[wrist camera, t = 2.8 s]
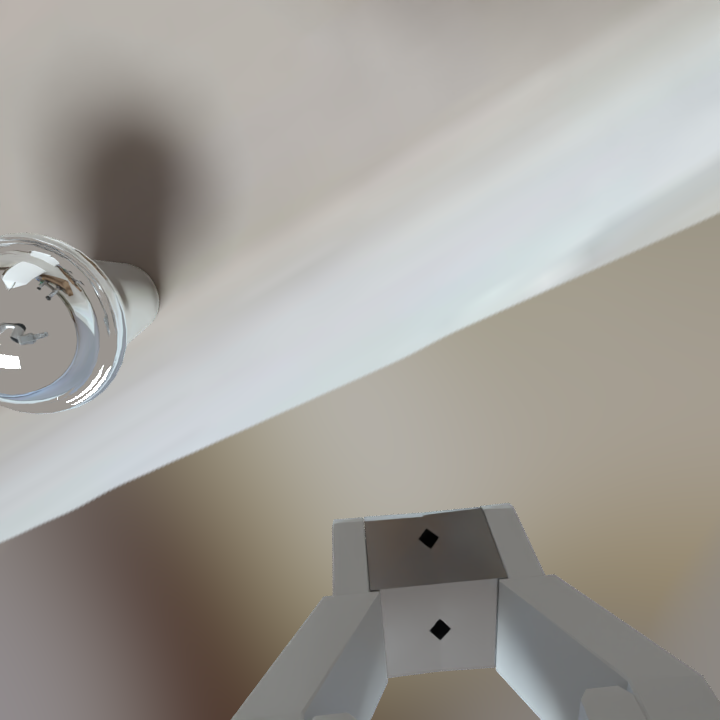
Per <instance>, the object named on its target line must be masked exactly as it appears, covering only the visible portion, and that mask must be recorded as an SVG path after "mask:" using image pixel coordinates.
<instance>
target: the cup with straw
mask: <svg viewBox="0 0 720 720" xmlns="http://www.w3.org/2000/svg"><path fill="white" fill-rule="evenodd" d="M158 309H159V295H158V291H157V288H156V286H155V284H154V282H153V280H152V279H151V278H150V277H149V276H148V274H146V273H145V272H144V271H143V270H142V269H140V268H138V267H136V266H134V265H131V264H127V263H118V262H110V261H100V260H91V259H90V258H89V257H88V256H86V255H85V254H84V253H83V252H82V251H80V250H78V249H77V248H75V247H73V246H71V245H69V244H68V243H66V242H64V241H61V240H58V239H56V238H53V237H50V236H47V235H41V234H34V233H27V232H26V233H10V234H5V235H2V236H0V405H1V406H3V407H6V408H9V409H12V410H15V411H19V412H25V413H32V414H47V413H56V412H61V411H65V410H69V409H73V408H77V407H79V406H81V405H83V404H85V403H88V402H90V401H92V400H93V399H94V398H96V397H97V396H98V395H99V394H101V393H102V392H103V391H104V390H105V389H106V388H107V387H108V386H109V384H110V383H111V382H112V381H113V380H114V378H115V377H116V375H117V373H118V371H119V369H120V367H121V365H122V362H123V358H124V354H125V350H126V346H127V344H129V343H130V342H131V341H132V340H133V339H134V338H135V337H137V336H138V335H139V334H140V333H141V332H142V331H144V330H145V328H147V327H148V326H149V325H150V324H151V323H152V322H153V321H154V319H155V317H156V315H157V313H158Z"/></svg>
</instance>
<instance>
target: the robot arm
mask: <svg viewBox="0 0 720 720" xmlns="http://www.w3.org/2000/svg"><path fill="white" fill-rule="evenodd" d="M364 524H365V529H364ZM332 535H333V536H332V542H333V543H332V544H333V596H325V597H323V598H322V600H321V601H320V602H319V603H318V605H317V606H316V607H315V609H314V610H313V611H312V613H311V614H310V616H309V617H308V618H307V619H306V621H305V622H304V624H303V625H302V626H301V627H300V629H299V630H298V631H297V633H296V634H295V635H294V637H293V638H292V639H291V641H290V642H289V643H288V645H287V646H286V647H285V649H284V650H283V651H282V653H281V654H280V655H279V657H278V658H277V659H276V661H275V662H274V663H273V665H272V666H271V667H270V669H269V670H268V671H267V673H266V674H265V675H264V677H263V678H262V679H261V681H260V682H259V683H258V685H257V686H256V687H255V689H254V690H253V691H252V693H251V694H250V695H249V697H248V698H247V699H246V701H245V702H244V703H243V705H242V706H241V707H240V709H239V710H238V711H237V713H236V714H235V715H234V716H233V718H232V719H231V720H371V717H372V715H373V713H374V711H375V709H376V707H377V704H378V702H379V700H380V698H381V696H382V693H383V691H384V689H385V687H386V684H387V682H388V678H391V677H399V676H406V675H415V674H422V673H430V672H438V671H450V670H464V669H479V668H494V667H496V671H497V672H498V673H499V674H500V675H501V676H502V677H503V678H504V680H505V681H506V682H507V683H508V684H509V685H510V686H511V687H512V688H513V689H514V691H515V692H516V693H517V694H518V695H519V696H520V697H521V698H522V699H523V700H524V701H525V703H526V704H527V705H528V706H529V707H530V708H531V709H532V710H533V711H534V712H535V714H536V715H537V716H538V717H539V718H540V719H541V720H720V701H719V700H718V698H717V697H716V695H715V694H714V692H713V691H712V689H711V688H710V686H709V685H708V683H707V682H706V680H705V678H704V677H703V675H701V674H700V673H698V672H697V671H695V670H694V669H692V668H691V667H689V666H688V665H687V664H685V663H684V662H682V661H681V660H679V659H678V658H676V657H675V656H673V655H672V654H671V653H669V652H668V651H666V650H665V649H663V648H662V647H660V646H659V645H657V644H656V643H654V642H653V641H651V640H650V639H649V638H647V637H646V636H644V635H643V634H641V633H640V632H638V631H637V630H635V629H634V628H632V627H631V626H629V625H628V624H627V623H625V622H624V621H622V620H621V619H619V618H618V617H616V616H615V615H613V614H612V613H610V612H609V611H608V610H606V609H605V608H603V607H602V606H600V605H599V604H597V603H596V602H594V601H593V600H591V599H590V598H588V597H587V596H586V595H584V594H583V593H581V592H580V591H578V590H577V589H575V588H574V587H572V586H571V585H569V584H568V583H566V582H565V581H563V580H562V579H561V578H559V577H558V576H556V575H554V574H553V575H545V574H544V571H543V569H542V567H541V565H540V563H539V561H538V559H537V556H536V555H535V552H534V550H533V548H532V545H531V543H530V541H529V539H528V537H527V535H526V533H525V530H524V528H523V526H522V524H521V522H520V520H519V518H518V515H517V513H516V511H515V509H514V507H513V506H512V505H511V504H510V503H504V504H495V505H486V506H480V507H474V508H464V509H454V510H444V511H436V512H425V513H411V514H397V515H384V516H369V517H364V520H363V518H348V519H335V520H334V521H333V527H332ZM365 537H366V539H365Z"/></svg>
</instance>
